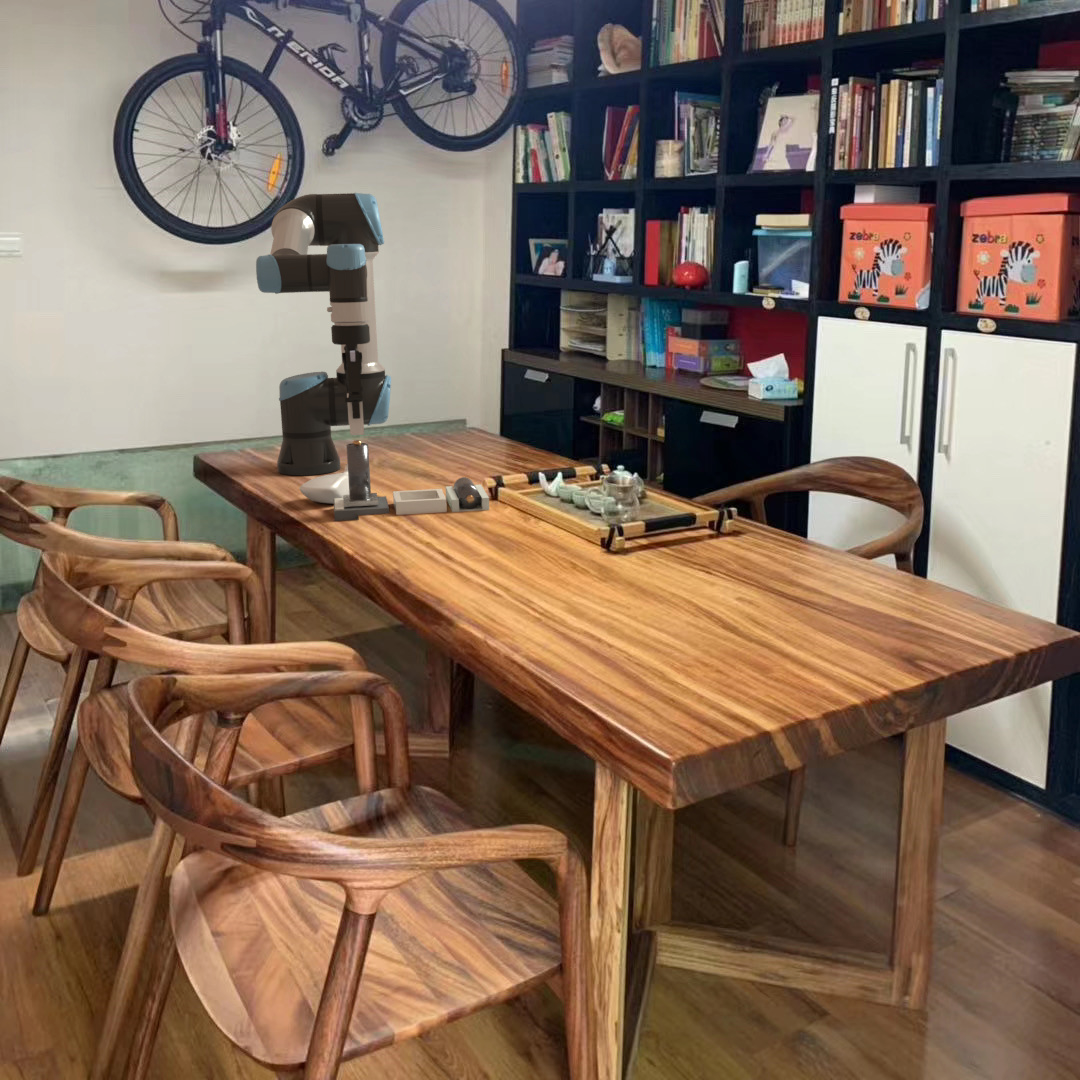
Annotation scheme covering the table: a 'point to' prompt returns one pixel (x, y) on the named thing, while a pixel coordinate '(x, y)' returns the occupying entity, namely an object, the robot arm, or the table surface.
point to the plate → (360, 501)
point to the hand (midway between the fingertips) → (356, 429)
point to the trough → (457, 507)
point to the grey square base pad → (359, 509)
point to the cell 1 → (358, 470)
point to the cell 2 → (467, 493)
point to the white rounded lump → (327, 487)
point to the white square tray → (419, 501)
